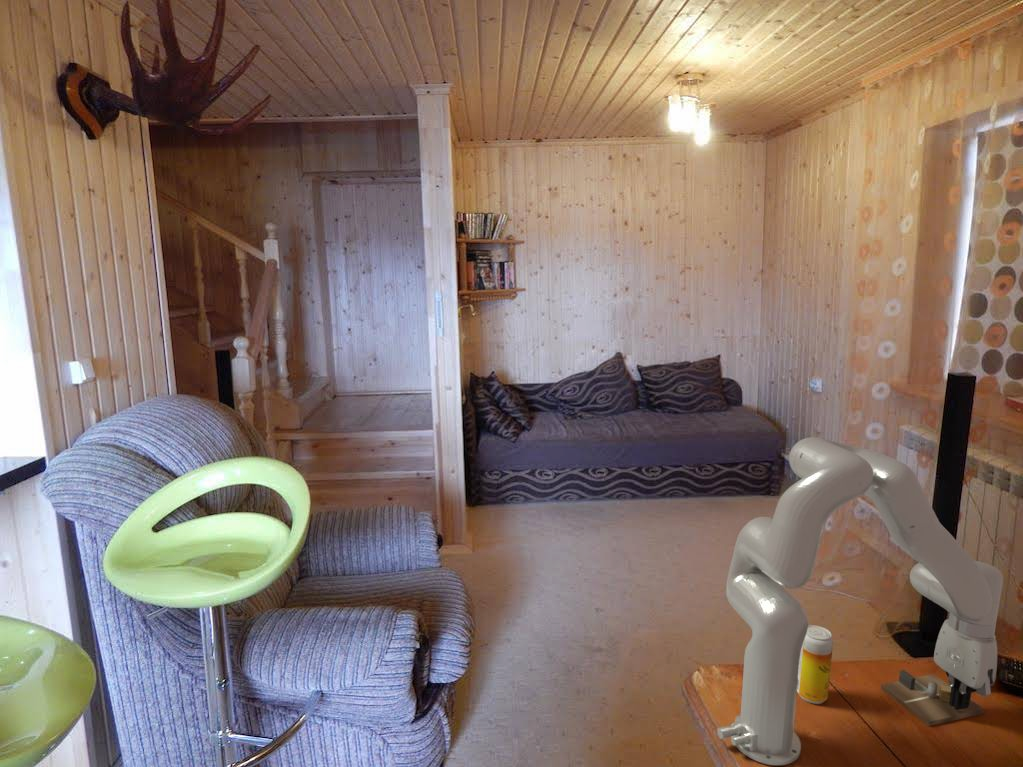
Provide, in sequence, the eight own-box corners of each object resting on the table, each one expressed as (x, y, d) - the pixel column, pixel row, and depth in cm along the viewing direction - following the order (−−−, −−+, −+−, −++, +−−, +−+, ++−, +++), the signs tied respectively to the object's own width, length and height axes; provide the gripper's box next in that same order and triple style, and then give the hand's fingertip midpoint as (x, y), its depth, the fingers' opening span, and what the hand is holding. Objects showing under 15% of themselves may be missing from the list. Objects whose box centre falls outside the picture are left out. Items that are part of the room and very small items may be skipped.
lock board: (928, 726, 131) (931, 708, 130) (881, 688, 142) (882, 672, 142) (983, 713, 135) (986, 695, 134) (932, 677, 146) (934, 661, 145)
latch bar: (939, 700, 137) (941, 685, 136) (938, 694, 139) (940, 680, 138) (968, 707, 135) (970, 692, 134) (967, 701, 136) (969, 687, 136)
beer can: (830, 707, 137) (837, 641, 134) (799, 703, 138) (805, 638, 135) (823, 688, 143) (829, 625, 140) (793, 685, 144) (798, 622, 141)
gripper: (924, 607, 136) (912, 686, 140) (992, 648, 122) (978, 735, 126) (952, 602, 138) (941, 681, 142) (1023, 642, 124) (1008, 728, 128)
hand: (958, 706), depth 134 cm, fingers closed
